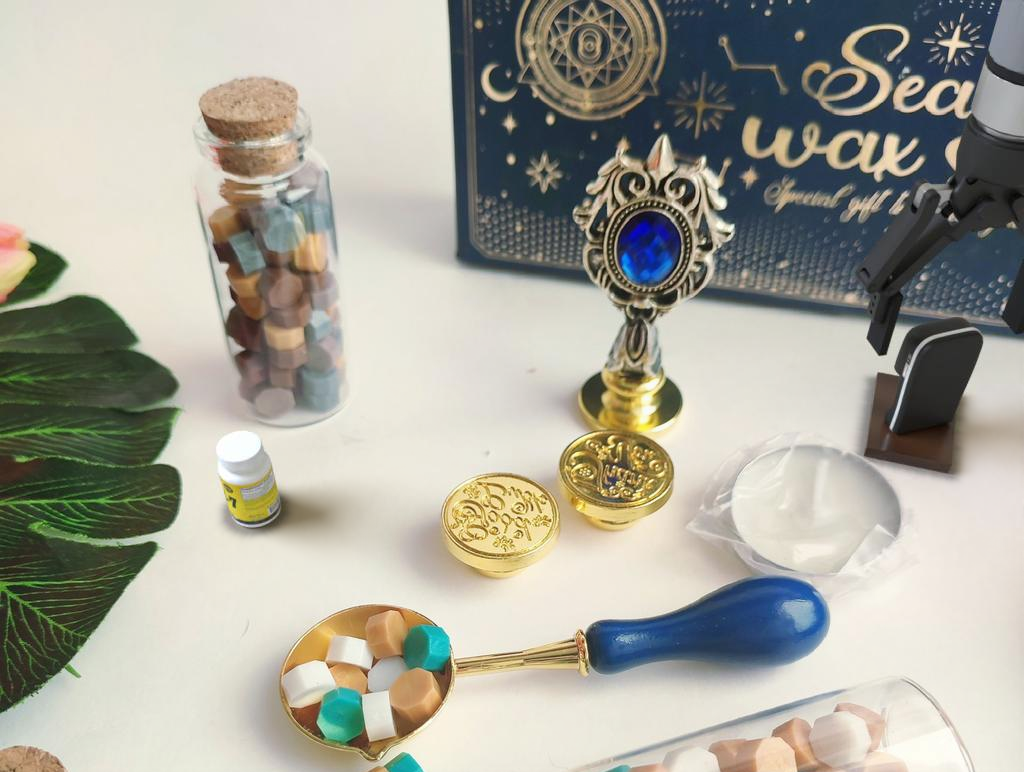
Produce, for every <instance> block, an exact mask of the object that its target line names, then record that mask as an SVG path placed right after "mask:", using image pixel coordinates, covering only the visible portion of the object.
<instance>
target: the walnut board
mask: <svg viewBox="0 0 1024 772" xmlns="http://www.w3.org/2000/svg"><path fill="white" fill-rule="evenodd" d="M899 377H900V376H899V375H895V374H890V373H885V372H881V371H880V372H879V371H877V373H876V376H875V379H874V383H873V384H874V385H873V390H872V391H873V392H872V396H871V397H872V398H871V404H870V412H869V417H868V424H867V429H866V431H867V432H866V436H865V444H864V451H863V457H867V458H872V459H877V460H882V461H887V462H891V463H896V464H901V465H906V466H910V467H914V468H920V469H925V470H928V471H934V472H939V473H944V474H949V473H950V470H951V468H952V465H953V456H954V455H953V453H954V440H955V439H954V438H955V425H956V423H955V422H956V415H955V416H954V419H953V421H951V422H948V423H944V424H941V425H937V426H933V427H929V428H925V429H921V430H917V431H912V432H908V433H902V434H895V433H894V432H892V431H891V430H890V427H889V426H888V425H887V423H886V421H885V418H884V417H885V413H886V411H887V410H890V409H891V408H892V406H893V404H894V401H895V397H896V394H897V390H898V386H899Z"/></svg>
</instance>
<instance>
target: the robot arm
mask: <svg viewBox="0 0 1024 772" xmlns="http://www.w3.org/2000/svg"><path fill="white" fill-rule="evenodd" d="M970 110H971V112H970V113H969V114H968V115H967V117H966V120H965V123H964V127H963V129H962V133H961V137H960V140H959V143H958V146H957V149H956V153H955V169H954V172H953V174H952V175H951V178H949V180H948V181H947V182H946V183H933V184H932V183H930V182H929V180H927V179H926V178H924V177H921V178H919V179H917V180H916V181H915V182H914V183H913V185H912V188H911V190H910V193H909V196H908V198H907V200H906V203H905V205H904V206H903V207H902V209H901V210H900V211H899V213H898V214H897V216H896V217H895V218H894V219H893V221H892V222H891V223H890V224H889V226H888V228H887V229H886V230H885V231H884V233H883V234H882V235H881V237H880V238H879V239H878V241H877V242H876V243H875V245H874V246H873V247H872V248H871V250H870V251H869V253H868V254H867V256H865V258H864V259H863V261H862V262H861V264H860V265H859V267H857V268H856V270H855V272H854V276H855V277H856V279H857V281H858V282H859V283H860V285H861V286H862V287H863V288H864V290H865V291H866V293H867V294H870V296H869V302H868V305H867V308H866V313H867V316H868V317H869V319H870V324H869V327H868V331H867V334H866V338H865V339H866V340H867V341H868V343H869V344H870V346H871V347H872V349H873V350H874V352H875V353H876V355H877V356H878V357H884V356H887V355H888V352H889V348H890V344H891V341H892V338H893V335H894V331H895V329H896V325H897V321H898V318H899V314H900V311H901V308H902V305H903V301H904V297H905V295H903V293H902V292H901V289H902V288H903V287H905V286H906V285H907V284H908V283H909V282H910V281H911V280H912V279H913V278H914V277H915V276H916V275H917V274H919V273H920V272H921V271H922V270H923V269H924V268H925V267H926V266H927V265H928V264H929V263H931V262H932V261H933V260H934V259H935V258H936V257H937V256H938V255H940V253H941V252H942V251H944V250H945V249H946V248H947V247H948V246H949V245H950V244H952V243H954V242H959V241H961V240H962V239H963V238H964V237H965V236H966V235H967V234H968V233H970V232H971V233H978V232H983V231H985V230H987V229H996V230H999V229H1006V228H1007V225H1009V224H1011V223H1012V222H1013V224H1014V226H1015V228H1017V230H1018V232H1019V234H1020V235H1021V237H1022V239H1023V240H1024V0H1001V4H1000V6H999V11H998V14H997V17H996V21H995V25H994V29H993V31H992V35H991V39H990V43H989V45H988V49H987V52H986V56H985V59H984V62H983V65H982V69H981V71H980V75H979V78H978V82H977V85H976V88H975V92H974V95H973V99H972V101H971V106H970ZM952 214H953V216H954V218H955V219H956V221H957V223H956V224H952V222H951V221H950V220H949V217H950V216H952ZM1021 261H1022V262H1021V264H1020V267H1019V268H1018V272H1017V274H1016V277H1015V279H1014V282H1013V285H1012V287H1011V290H1010V293H1009V295H1008V298H1007V301H1006V303H1005V306H1004V308H1003V311H1002V314H1001V317H1000V318H1001V319H1002V321H1003V322H1004V323H1005V324H1006V325H1007V327H1008V328H1010V330H1011V331H1012V332H1013V333H1014V334H1015V335H1022V334H1024V258H1023V259H1022V260H1021Z"/></svg>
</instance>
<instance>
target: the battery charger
mask: <svg viewBox="0 0 1024 772" xmlns="http://www.w3.org/2000/svg"><path fill="white" fill-rule="evenodd" d="M983 346H984V337H983V335H982V332H981V331H980V330H979V329H978V328H977V327H974V325H972V324H971V322H969V321H968V320H967V319H966V318H964V317H961V316H953V317H949V318H943V319H937V320H933V321H929V322H926V323H921V324H918V325H915V326H913V327H911V329H909V330H908V332H907V333H906V334H905V336H904V338H903V340H902V343H901V345H900V348H899V350H898V353H897V356H896V358H895V359H896V360H895V362H894V366H893V369H894V371H895V372H896V373H897V376H900V377H899V386H898V390H897V394H896V397H895V401H894V404H893V406H892V408H891V409H890V410H887V411H886V413H885V417H884V418H885V421H886V423H887V425H888V426H889V427H890V430H891V431H892V432H894V433H895V434H902V433H908V432H912V431H917V430H921V429H925V428H929V427H933V426H937V425H941V424H944V423H948V422H951V421H953V419H954V416H955V417H956V413H957V410H958V407H959V406H960V402H961V400H962V397H963V396H964V393H965V391H966V389H967V386H968V384H969V383H970V380H971V378H972V375H973V373H974V371H975V368H976V365H977V362H978V360H979V357H980V356H981V352H982V350H983V349H982V348H983Z"/></svg>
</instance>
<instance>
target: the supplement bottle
mask: <svg viewBox="0 0 1024 772" xmlns="http://www.w3.org/2000/svg"><path fill="white" fill-rule="evenodd" d="M216 455H217V460H218V463H217V472H218V476H219V480H220V483H221V486H222V490H223V493H224V496H225V500H226V503H227V507H228V510H229V513H230V516H231V519H233V521H234V522H235V523H237V524H238V525H240V526H242V527H244V528H245V527H246V528H259V527H263V526H266V525H268V524H270V523H272V522H273V521H274V520H275V519H276V518H277V517H278V516H279V515H280V512H281V510H282V502H281V497H280V493H279V489H278V484H277V480H276V476H275V472H274V467H273V464H272V463H273V462H272V461H271V457H270V455H269V454H268V453H267V451H266V450H265V448H264V444H263V441H262V439H261V437H260V436H259V435H258V434H257V433H254V432H251V431H249V430H238V431H233V432H230V433H228V434H226V435H224V436H223V437H221V439H220V440H219V441H218V443H217V445H216Z"/></svg>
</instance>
